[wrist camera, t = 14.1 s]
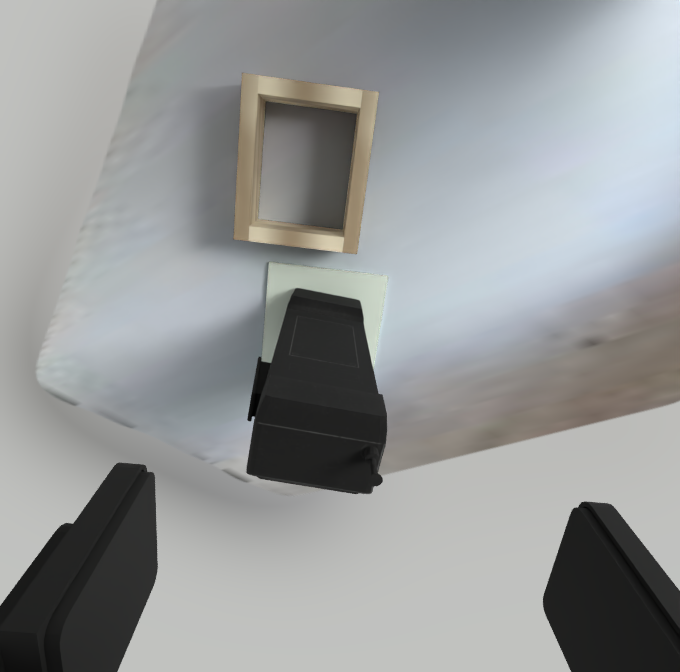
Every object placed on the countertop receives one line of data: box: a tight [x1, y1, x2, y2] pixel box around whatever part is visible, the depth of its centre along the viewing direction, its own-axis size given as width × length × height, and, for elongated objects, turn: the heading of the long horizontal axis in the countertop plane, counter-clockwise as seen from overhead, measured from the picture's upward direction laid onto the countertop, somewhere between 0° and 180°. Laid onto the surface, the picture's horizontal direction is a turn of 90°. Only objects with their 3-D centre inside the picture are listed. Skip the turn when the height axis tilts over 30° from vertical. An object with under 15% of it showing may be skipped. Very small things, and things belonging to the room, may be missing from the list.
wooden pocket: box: [233, 73, 379, 254], centre depth 40 cm, size 10×12×5 cm
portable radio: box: [247, 288, 387, 494], centre depth 35 cm, size 8×6×25 cm
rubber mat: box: [261, 262, 388, 369], centre depth 47 cm, size 11×11×1 cm
